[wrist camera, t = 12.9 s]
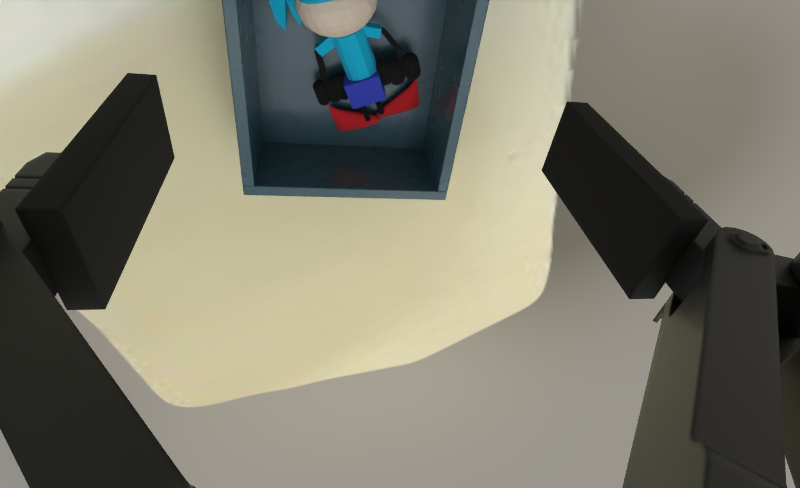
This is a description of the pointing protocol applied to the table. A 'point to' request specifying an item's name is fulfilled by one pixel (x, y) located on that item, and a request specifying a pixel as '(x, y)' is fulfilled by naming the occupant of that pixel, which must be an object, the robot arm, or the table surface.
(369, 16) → the toy figure
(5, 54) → the table surface
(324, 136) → the tote
